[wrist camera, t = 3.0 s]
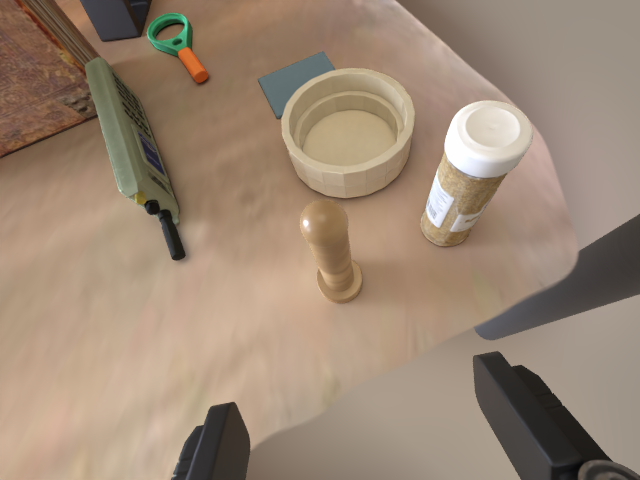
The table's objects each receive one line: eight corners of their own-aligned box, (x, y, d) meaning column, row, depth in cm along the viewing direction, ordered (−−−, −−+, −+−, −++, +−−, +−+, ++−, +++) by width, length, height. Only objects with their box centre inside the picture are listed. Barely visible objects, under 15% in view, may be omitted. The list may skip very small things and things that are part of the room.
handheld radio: (143, 97, 44) (201, 253, 34) (120, 109, 44) (172, 269, 34) (104, 52, 38) (162, 227, 28) (78, 66, 38) (126, 246, 28)
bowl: (374, 89, 39) (375, 50, 35) (431, 169, 34) (441, 136, 30) (276, 132, 39) (263, 98, 34) (318, 220, 34) (310, 194, 29)
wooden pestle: (350, 254, 32) (339, 170, 19) (369, 291, 30) (371, 227, 17) (312, 271, 32) (274, 198, 19) (329, 310, 30) (300, 259, 17)
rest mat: (323, 53, 43) (323, 50, 42) (347, 89, 40) (346, 86, 39) (258, 81, 42) (257, 78, 42) (277, 119, 39) (276, 117, 39)
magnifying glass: (145, 33, 49) (138, 22, 47) (182, 14, 50) (176, 2, 48) (184, 94, 43) (177, 84, 41) (225, 72, 44) (219, 60, 42)
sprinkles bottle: (467, 252, 30) (534, 165, 18) (415, 242, 31) (446, 154, 19) (471, 208, 32) (537, 100, 20) (423, 200, 33) (455, 93, 21)
